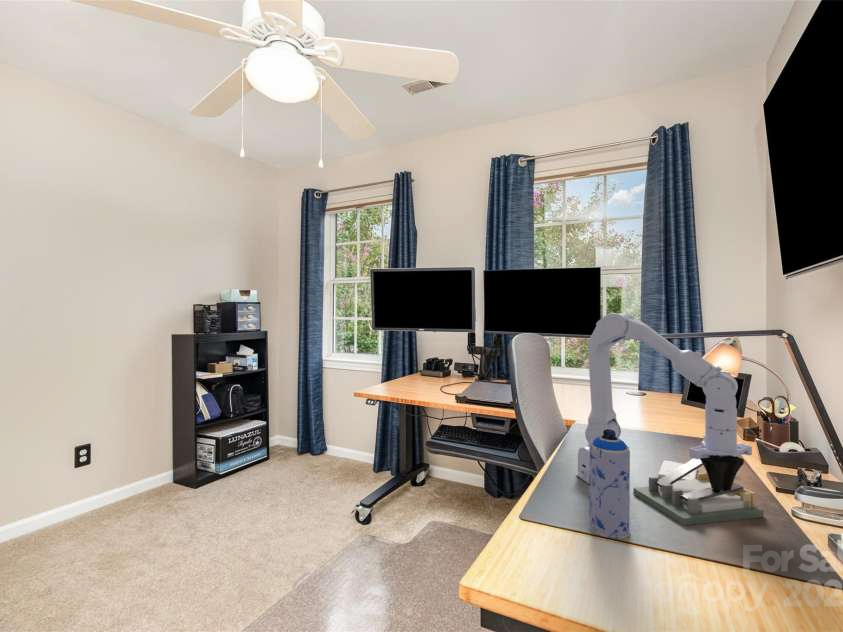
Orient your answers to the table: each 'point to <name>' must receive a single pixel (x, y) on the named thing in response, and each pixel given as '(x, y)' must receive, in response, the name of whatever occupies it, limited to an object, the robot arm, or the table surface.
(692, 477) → the external hard drive
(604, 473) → the aerosol can
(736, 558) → the table surface
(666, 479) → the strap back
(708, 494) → the strap front
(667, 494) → the board
